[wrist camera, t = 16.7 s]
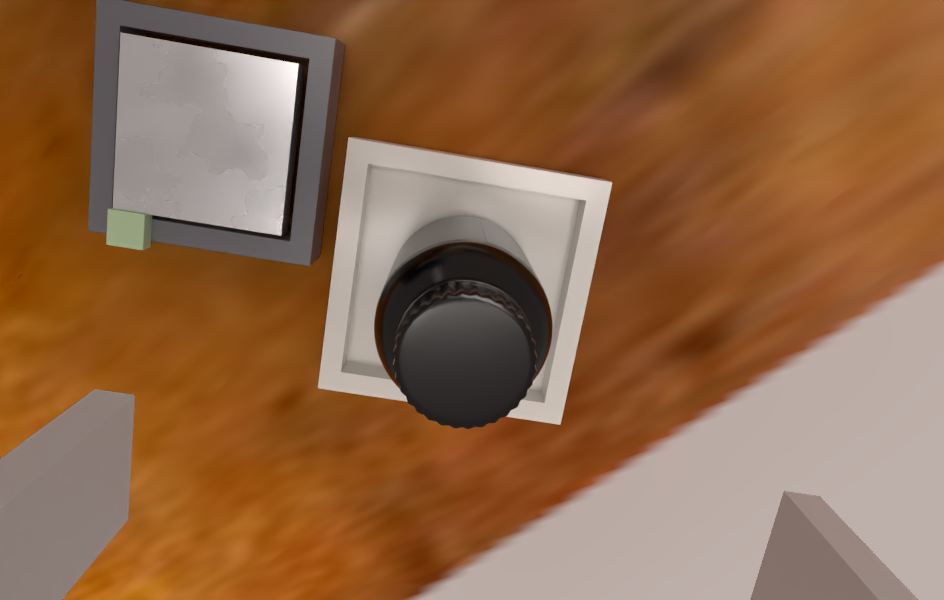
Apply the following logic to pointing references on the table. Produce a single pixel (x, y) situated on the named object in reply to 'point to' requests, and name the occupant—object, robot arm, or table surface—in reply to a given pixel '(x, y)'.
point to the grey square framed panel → (314, 145)
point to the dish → (457, 194)
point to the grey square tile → (206, 134)
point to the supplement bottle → (462, 322)
